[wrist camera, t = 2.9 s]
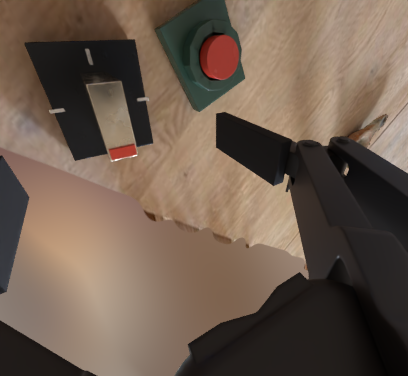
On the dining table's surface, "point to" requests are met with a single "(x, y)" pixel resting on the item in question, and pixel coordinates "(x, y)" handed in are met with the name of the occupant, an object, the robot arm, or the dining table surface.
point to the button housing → (198, 49)
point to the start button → (219, 56)
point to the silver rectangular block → (110, 114)
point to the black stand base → (76, 93)
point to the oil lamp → (368, 131)
